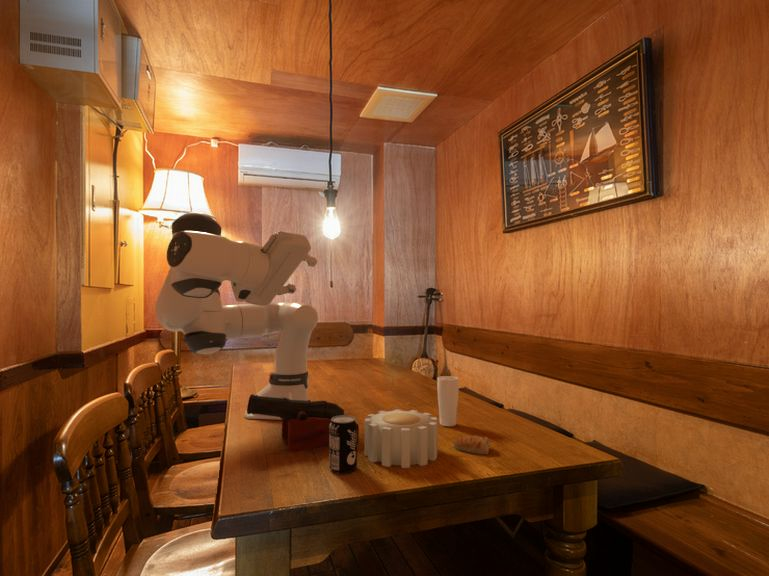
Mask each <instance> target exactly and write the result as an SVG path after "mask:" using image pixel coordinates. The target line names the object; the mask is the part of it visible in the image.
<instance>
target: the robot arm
mask: <svg viewBox="0 0 769 576" xmlns="http://www.w3.org/2000/svg"><path fill="white" fill-rule="evenodd" d="M222 229H223V227H222V226H221V225H220V224H219V222H217V221H216V220H215V219H214V218H213V217H212V216H211V215H209V214H207V213H205V212H201V211H189V212H186V213H184V214H182V215H180V216H179V217H177V218H176V219H175V220H174V221H173V222H172V223H171V235H172V238H171V240H170V241H169V243H168V246H167V248H166V249H167V250H166V261H167V264H168V266H169V267H170V268H169V269H168V272H167V275H166V277H165V280H164V282H163V284H162V286H161V289H160V292H159V294H158V296H157V299H156V301H155V306H154V307H155V309H154V313H155V318H156V320H157V322H158V324H159V325H160V327H161V328H162V329H165V330H166V331H170V332H174V333H175V332H182V333H183V338H182V339H181V340H182V343H186V346H187V347H188V349H189V350H190V351H191V352H193V353H194V354H198V355H211V354H214V353H216V352H218V351H221V350H222V349H223V348H224V347H225V346H226V343H227V340H228V339H232V340H235V339H243V338H257V337H263V336H265V335H266V336H267V335H272V334H279V333H281V334H280V339H279V342H278V345H277V346H276V348H275V350H274V351H275V352H274V371H271V372H270V373H269V375H268V383H267V385H266V386H264V387H263V388H262V389H261V390H260V391H258V392H257V393H256V394H254V395H255V396H256V395H258V396H263V397H273V398H284V397H285V398H288V399H290V400H304V401H308V400H310V399H309V391H308V388H309V372H308V347H309V343H310V340H311V335H312V333H313V331H314V329H315V328H316V327H317V325H318V322H319V315H318V312H317V310H316V308H315V307H313V306H311V305H309V304H308V303H306V302H302V301H274V299H275V297H276V296H283V295H285V294H291V295H292V294H294V293H295V292H296V290H297V287H296V285H295V284H293V283H292V284H291V283H288V284H286V283H287V282H288V280H289V279H290V278H291V276H292V275H293V274H294V272H295V271H296V270H297V268H298V267H299V266H300V265H301V263H302V262H306V264H307V265H308V267H312V268H315V266H316V265H317V264H318V260H317V258H316V257H314V256H310V254H309V253H310V251H311V249H312V246H311V244H310V242H309V239H308V238H307V237H306V235H302V234H298V233H292V232H286V231H277V232H275V233H274V234H271V235H270V236H269V238H268V240H267V242H265V243H264V245H263V246H262V245H258V244H253V243H249V242H245V241H242V240H240V241H239V240H237V241H235V240H234V241H233V240H231V239H229V238H227V237H226V236H222ZM223 281H228V282H230V285H231V289H232V292H233V297H234V299H235V301H236V302H239V303H240V304H228V305H227V304H226V305H223V304H222V300H221V293H220V290H219V289H220V287H221V286H222V283H223ZM243 302H245V303H243ZM244 418H246V419H253V420H255V419H256V420H257V419H258V420H277V421H278V420H279V421H280V420H281V421H282V418H280V417H275V416H268V415H261V414H254V415H253V414H252V413H251V414H248V413H247V409H246V410H245V412H244Z"/></svg>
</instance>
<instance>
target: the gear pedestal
mask: <svg viewBox="0 0 769 576" xmlns="http://www.w3.org/2000/svg"><path fill="white" fill-rule="evenodd" d="M438 429H439V427H438V418H437V416H432V413H429V412H423V413H421V412H419V411H418V410H413V409H411V410H408V411H407V410H406V411H405V410H401V409H393V410H391V411H389V410H388V411H386V410H379V411H377V414H373V413H370V414H368V415H366V418H364V456H365V457H366V456H367V457H368V459H367V460H368V461H369V462H371V463H377V462H378V463H381V466H382V467H387V468H390V467H391V466H400V467H401V469H407V468H409V469H410V468H411V466H414V465H418V466H420V467H423V466H426V465H428V461H434V462H435V461H436V460H437V458H438V450H439V449H438V444H439V443H438V438H439V436H438V431H439V430H438Z"/></svg>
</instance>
